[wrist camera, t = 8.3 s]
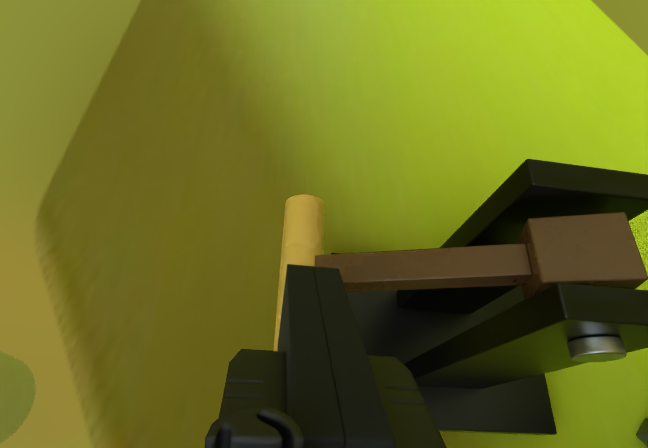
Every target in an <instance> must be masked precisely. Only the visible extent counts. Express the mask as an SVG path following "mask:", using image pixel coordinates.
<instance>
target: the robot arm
mask: <svg viewBox="0 0 648 448" xmlns="http://www.w3.org/2000/svg"><path fill="white" fill-rule="evenodd" d="M205 448H446V446H445V444H444V441H443V439H442V437H441V435H440V433H439V431H438V429H437V426H436V424H435V422H434V420H433V418H432V416H431V414H430V411H429V409H428V407H427V405H425V401H424V399H423V396H422V394H421V392H420V391H418V386H417V384H416V381H415V379H414V377H413V375H412V373H411V371H410V370H409V369H408V368H407V367H406V366H405V365H404V364H403V363H402V362H401V361H400V360H398V359H397V358H396V357H388V356H372V355H367V353H366V350H365V347H364V344H363V341H362V338H361V334H360V331H359V328H358V325H357V322H356V319H355V316H354V313H353V310H352V307H351V304H350V301H349V298H348V295H347V292H346V289H345V286H344V283H343V280H342V277H341V274H340V271H339V269H338V268H327V267H316V266H305V265H294V264H287V270H286V278H285V287H284V295H283V303H282V312H281V320H280V328H279V337H278V345H277V351H266V350H250V349H241V350H240V351H239V352H238V353H237V355H236V356H235V357H234V358H233V359H232V360H231V361H230V362H229V367H228V373H227V378H226V383H225V388H224V393H223V399H222V404H221V409H220V414H219V418H218V419H217V420H216V421H215V422H214V423H213V424H212V425H211V427H210V429H209V431H208V434H207V436H206V438H205Z"/></svg>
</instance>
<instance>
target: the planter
mask: <svg viewBox="0 0 648 448" xmlns="http://www.w3.org/2000/svg"><path fill="white" fill-rule="evenodd" d="M636 435H637V437H638V438H639V439H640V440H641V441H642V442H643V443H644V444H645V445H646V446H647V447H648V418H647V419H645V420H644V422H643V424H642V426H641V427H640V429H639V431H638V433H637V434H636Z"/></svg>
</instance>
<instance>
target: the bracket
mask: <svg viewBox="0 0 648 448" xmlns="http://www.w3.org/2000/svg"><path fill="white" fill-rule="evenodd" d="M646 210H648V175H646V174H638V173H631V172H623V171H616V170H608V169H601V168H593V167H586V166H578V165H571V164H563V163H556V162H548V161H541V160H533V159H527V160H525V161H524V162H523V163H522V164H521V165H520V166H519V167H518V168H517V169H516V170H515V171H514V172H513V173H512V175H511V176H510V177H509V178H508V179H507V180H506V181H505V182H504V183H503V184H502V185H501V186H500V187H499V188H498V189H497V190H496V191H495V192H494V193H493V194H492V195H491V196H490V197H489V198H488V199H487V200H486V201H485V202H484V203H483V204H482V205H481V206H480V207H479V208H478V209H477V210H476V211H475V212H474V213H473V214H472V215H471V216H470V217H469V218H468V219H467V220H466V221H465V222H464V223H463V225H462V226H461V227H460V228H459V229H458V230H457V231H456V232H455V233H454V234H453V235H452V236H451V237H450V238H449V239H448V240H447V241H446V242H445V243H444V244H443V245H442V246H441V247H440V248H453V247H470V246H487V245H504V244H517V241H518V239H519V237H520V235H521V232H522V230H523V228H524V226H525V224H526V221H527V219H529V218H541V217H555V216H570V215H585V214H599V213H614V212H625V214H626V217H627V219H628V221H629V220H631V219H633V218H635V217H636V216H638V215H640V214H641V213H643V212H645V211H646ZM332 254H337V253H331V255H332ZM347 295H348V298H349V301H350V304H351V307H352V310H353V313H354V316H355V319H356V322H357V325H358V328H359V331H360V334H361V338H362V341H363V344H364V347H365V350H366V353H367V355H372V356H388V357H396V358H397V359H398V360H400V361H401V362H402V363H403V364H404V365H405V366H406V367H407V368H408V369H409V370H410V371H411V373H412V375H413V377H414V379H415V381H416V384H417V386H418V391H420V392H421V394H422V396H423V399H424V401H425V405H427V407H428V409H429V411H430V414H431V416H432V418H433V420H434V422H435V424H436V426H437V429H438V431H452V432H478V433H504V434H530V435H554V434H557V432H556V427H555V422H554V417H553V413H552V408H551V403H550V398H549V394H548V389H547V384H546V379H545V374H544V373H548V372H552V371H556V370H560V369H564V368H568V367H572V366H576V365H580V364H584V363H588V362H605V361H613V360H618V359H621V358H624V357H626V354H627V353H628V352H632V351H636V350H640V349H644V348H648V291H647V290H636V289H625V288H614V287H603V286H592V285H581V284H571V283H560V282H558V283H555V284H553V285H551V286H550V287H548V288H546V289H544V290H542V291H540V292H538V293H536V294H534V295H533V296H531V297H529V298H527V299H525V300H524V298H523V293H522V288H521V285H513V286H488V287H464V288H439V289H414V290H390V291H365V292H347Z"/></svg>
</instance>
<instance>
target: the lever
mask: <svg viewBox="0 0 648 448" xmlns="http://www.w3.org/2000/svg"><path fill="white" fill-rule="evenodd" d="M324 218H325V204H324V202H323V201H322V200H321V199H320V198H318V197H316V196H312V195H306V194H301V195H295V196H292V197H290V198H289V199H288V200H287V201H286V203H285V214H284V226H283V239H282V251H281V263H280V275H279V288H278V300H277V312H276V324H275V337H274V349H273V351H277V345H278V337H279V328H280V320H281V312H282V303H283V295H284V287H285V278H286V270H287V264H294V265H305V266H316V267H327V268H338V269H339V271H340V274H341V277H342V280H343V283H344V286H345V289H346V292H365V291H390V290H414V289H439V288H464V287H488V286H513V285H521V288H522V293H523V298H524V300H525V299H527V298H529V297H531V296H533V295H534V294H536V293H538V292H540V291H542V290H544V289H546V288H548V287H550V286H551V285H553V284H555V283H558V282H560V283H571V284H581V285H592V286H603V287H614V288H625V289H636V288H637V287H638V286H639V285H641V284H642V283H643V282H645V281H646V280H647V279H648V276H647V273H646V270H645V267H644V264H643V262H642V259H641V256H640V253H639V250H638V247H637V245H636V242H635V239H634V236H633V233H632V231H631V228H630V225H629V222H628V219H627V217H626V214H625V212H614V213H599V214H585V215H570V216H555V217H541V218H529V219H527V221H526V224H525V226H524V228H523V230H522V232H521V235H520V237H519V239H518V241H517V244H504V245H487V246H470V247H453V248H435V249H418V250H401V251H383V252H366V253H349V254H332V255H323V251H324Z"/></svg>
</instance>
